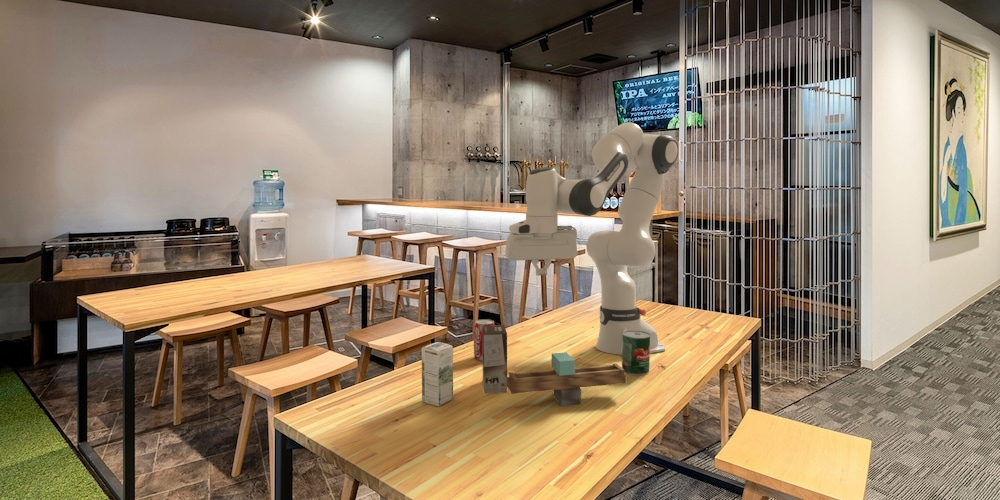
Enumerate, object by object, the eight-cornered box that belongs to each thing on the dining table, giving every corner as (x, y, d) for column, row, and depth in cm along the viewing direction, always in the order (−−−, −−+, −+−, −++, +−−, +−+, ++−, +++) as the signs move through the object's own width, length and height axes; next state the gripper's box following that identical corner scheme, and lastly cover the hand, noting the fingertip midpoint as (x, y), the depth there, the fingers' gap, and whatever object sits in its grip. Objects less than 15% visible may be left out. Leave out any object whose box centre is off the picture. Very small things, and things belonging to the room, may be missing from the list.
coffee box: (508, 392, 141) (507, 333, 139) (483, 393, 141) (483, 334, 139) (504, 380, 150) (504, 324, 149) (482, 381, 150) (481, 325, 148)
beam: (615, 389, 143) (616, 362, 142) (627, 399, 136) (628, 370, 135) (506, 400, 137) (506, 371, 136) (512, 411, 130) (512, 381, 129)
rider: (566, 370, 139) (566, 352, 138) (574, 379, 133) (575, 360, 132) (551, 372, 138) (551, 353, 138) (559, 380, 132) (559, 361, 131)
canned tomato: (644, 376, 152) (645, 339, 151) (617, 372, 157) (618, 335, 155) (652, 368, 159) (653, 332, 158) (626, 364, 163) (627, 329, 162)
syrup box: (436, 394, 140) (435, 341, 139) (454, 399, 137) (453, 344, 135) (421, 402, 136) (420, 346, 134) (439, 407, 132) (438, 350, 131)
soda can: (493, 362, 165) (493, 324, 164) (471, 361, 167) (470, 323, 165) (498, 355, 172) (498, 319, 171) (476, 354, 174) (476, 318, 172)
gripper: (573, 224, 155) (572, 271, 156) (503, 226, 150) (504, 274, 152) (580, 226, 149) (580, 275, 150) (509, 227, 144) (509, 278, 146)
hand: (541, 275), depth 151 cm, fingers closed
